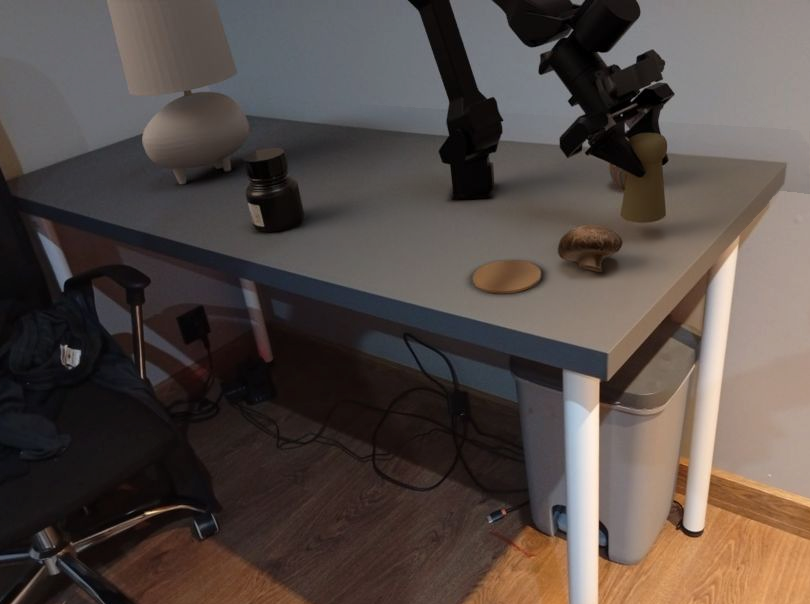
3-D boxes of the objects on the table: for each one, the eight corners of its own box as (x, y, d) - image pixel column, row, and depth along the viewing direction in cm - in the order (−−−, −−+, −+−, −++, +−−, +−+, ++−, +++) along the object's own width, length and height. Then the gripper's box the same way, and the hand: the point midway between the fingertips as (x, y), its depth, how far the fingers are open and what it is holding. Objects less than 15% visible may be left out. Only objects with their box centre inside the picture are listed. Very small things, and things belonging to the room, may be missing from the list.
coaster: (468, 294, 95) (468, 291, 95) (477, 263, 102) (477, 260, 102) (538, 293, 92) (538, 290, 92) (543, 262, 100) (543, 259, 100)
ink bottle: (260, 215, 130) (243, 148, 124) (308, 209, 130) (294, 142, 123) (248, 237, 122) (230, 167, 116) (300, 231, 121) (284, 160, 115)
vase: (655, 191, 115) (657, 136, 111) (609, 194, 117) (610, 139, 113) (651, 176, 121) (654, 123, 116) (608, 179, 123) (609, 126, 118)
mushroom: (606, 264, 89) (599, 214, 90) (550, 278, 95) (543, 231, 95) (635, 269, 95) (628, 223, 96) (581, 282, 101) (574, 238, 101)
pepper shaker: (674, 210, 101) (680, 130, 95) (652, 225, 98) (657, 144, 92) (633, 202, 105) (637, 126, 99) (612, 218, 102) (614, 139, 96)
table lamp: (181, 200, 144) (112, -26, 123) (137, 182, 158) (68, -23, 138) (278, 165, 155) (231, -48, 134) (229, 151, 170) (178, -42, 149)
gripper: (577, 49, 87) (655, 154, 85) (666, 18, 97) (737, 112, 95) (528, 109, 97) (597, 205, 95) (613, 75, 106) (677, 162, 104)
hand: (654, 169), depth 97 cm, fingers closed on pepper shaker, 5 cm apart
